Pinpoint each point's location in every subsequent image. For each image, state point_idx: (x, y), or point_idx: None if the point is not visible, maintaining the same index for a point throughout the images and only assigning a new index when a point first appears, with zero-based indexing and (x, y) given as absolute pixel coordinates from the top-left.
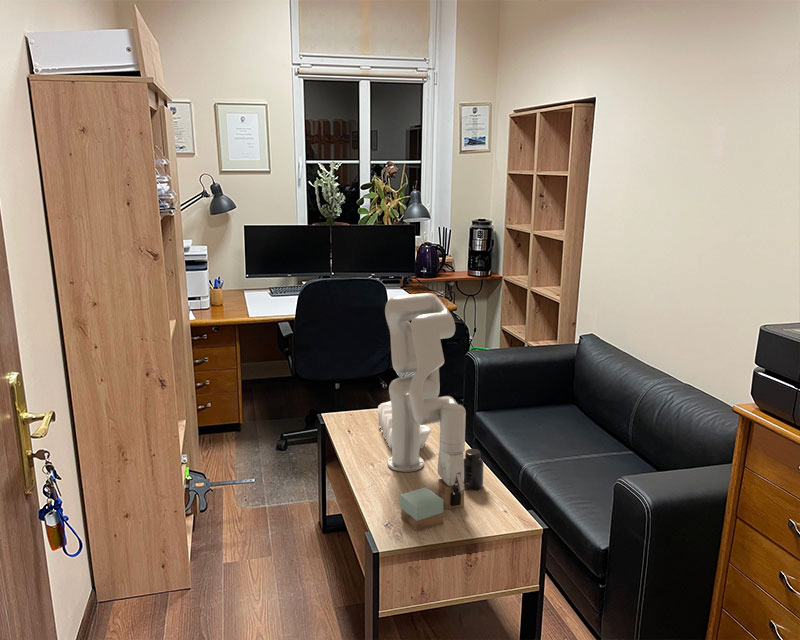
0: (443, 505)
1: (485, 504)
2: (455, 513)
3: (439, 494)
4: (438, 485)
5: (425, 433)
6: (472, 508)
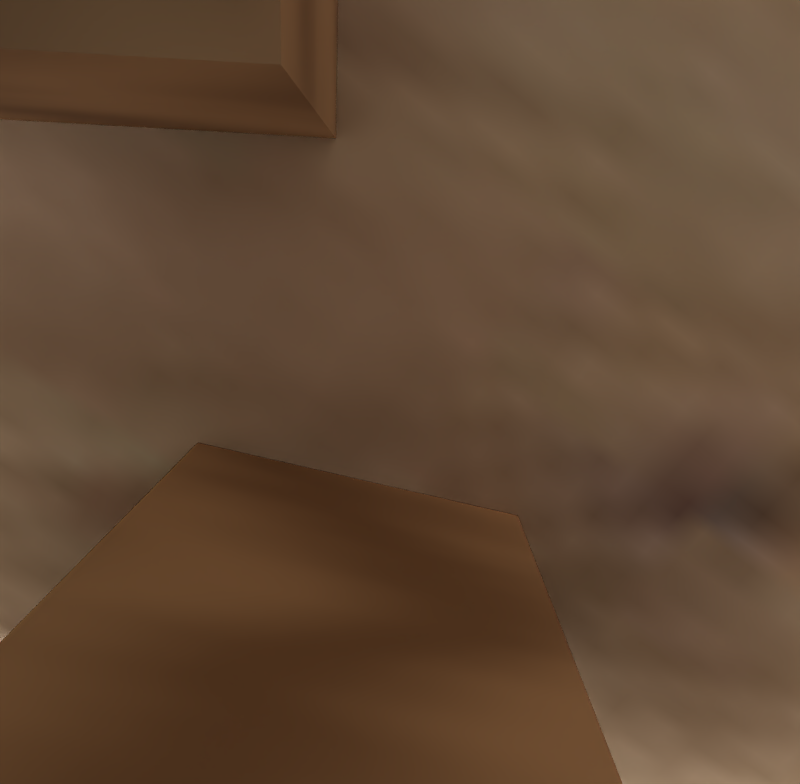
0: (289, 472)
1: None
2: (12, 487)
3: (486, 586)
4: (610, 777)
5: None
6: None
